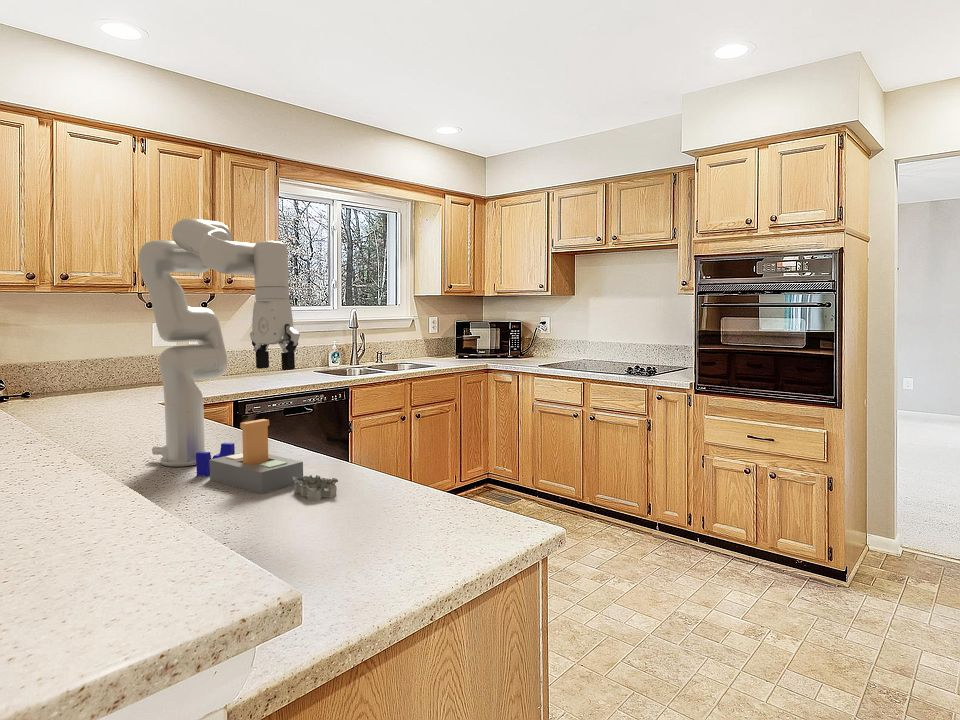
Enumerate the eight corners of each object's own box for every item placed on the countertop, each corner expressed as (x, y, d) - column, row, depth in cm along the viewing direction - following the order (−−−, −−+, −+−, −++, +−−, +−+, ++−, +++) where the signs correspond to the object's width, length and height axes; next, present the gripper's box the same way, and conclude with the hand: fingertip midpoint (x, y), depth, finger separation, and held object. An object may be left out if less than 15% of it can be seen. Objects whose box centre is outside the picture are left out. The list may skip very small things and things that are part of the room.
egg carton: (340, 497, 143) (340, 479, 142) (308, 503, 138) (308, 485, 138) (321, 485, 151) (321, 469, 151) (290, 491, 147) (290, 474, 146)
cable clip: (220, 464, 170) (219, 442, 170) (235, 465, 169) (234, 443, 169) (191, 476, 159) (190, 452, 158) (207, 477, 158) (206, 453, 157)
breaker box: (209, 479, 155) (209, 458, 154) (251, 469, 165) (251, 449, 164) (261, 493, 144) (261, 471, 143) (303, 481, 153) (302, 460, 153)
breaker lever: (241, 472, 152) (240, 422, 151) (264, 467, 157) (262, 418, 156) (247, 474, 151) (246, 424, 149) (270, 468, 156) (269, 419, 155)
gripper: (236, 296, 148) (239, 368, 149) (281, 294, 138) (285, 371, 139) (263, 296, 154) (266, 366, 155) (309, 294, 144) (312, 369, 145)
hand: (275, 369), depth 147 cm, fingers open, 9 cm apart
